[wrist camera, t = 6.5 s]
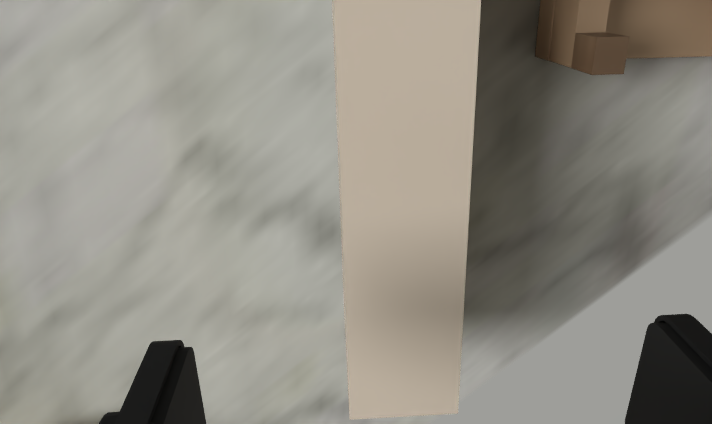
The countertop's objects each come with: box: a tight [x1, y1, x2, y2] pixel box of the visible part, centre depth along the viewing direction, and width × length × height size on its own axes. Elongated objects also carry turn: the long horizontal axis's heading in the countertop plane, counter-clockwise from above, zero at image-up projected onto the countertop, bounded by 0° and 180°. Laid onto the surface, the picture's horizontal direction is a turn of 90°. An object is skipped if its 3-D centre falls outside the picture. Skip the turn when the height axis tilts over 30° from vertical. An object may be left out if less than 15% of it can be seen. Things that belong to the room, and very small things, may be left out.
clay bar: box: [332, 0, 481, 420], centre depth 18 cm, size 14×4×6 cm, turn 1°
